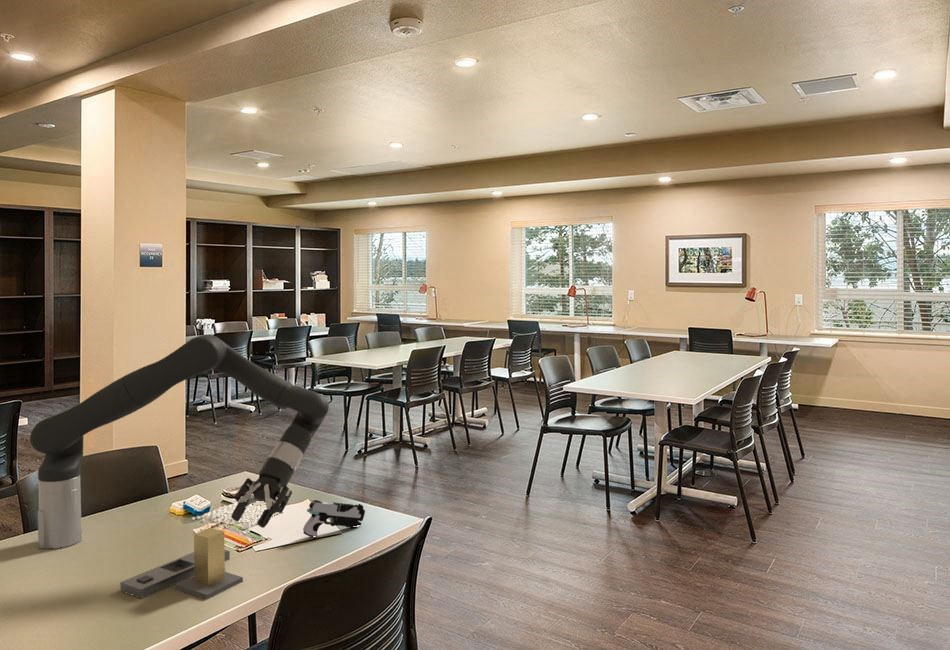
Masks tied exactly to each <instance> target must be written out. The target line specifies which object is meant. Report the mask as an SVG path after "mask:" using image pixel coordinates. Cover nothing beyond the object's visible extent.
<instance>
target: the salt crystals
mask: <svg viewBox="0 0 950 650" xmlns="http://www.w3.org/2000/svg"><path fill="white" fill-rule="evenodd" d="M237 505H238V502H237V501H235V502H234V503H230V504H229V505H223V506H220V507H218V508H216V509H214V510H212V511H207V513H204V514H202V515H199V516H197V520H200V519H201V521H202V522H203V523H204V522H205V521H206V519H207V520H208V519H210V520H212V521H213V522H214V523H216V522H217V523H218V522H219V521H220V522H221V521H222V523H223V522H225V521H226V522H229V523H232V524H235V525H236V522H237V524H238V523H239V524H240V523H242V524H241V526H240V527H243V528H242V529H241V530H243V529H245V530H246V529H250V528H251V527H254V526H257V525H258V524H257V522H258V520H259V519H260V517H261V515H262V513H263V512H264V510H267V508H266V504H261V506H260V505H258V506H254V505H252V503H251V504H250V505H249V506H247V507H245V508H246V510H245V511H244V513H243V515H242V516H241V518H240V520H239V521H235V520H234V519H233V518H232V513H233V511H234V510H235V508H236V506H237ZM276 514H279V512H277V513H275V514H273V515H272V517H273V516H274V515H276ZM255 515H256V516H255ZM257 516H258V517H257ZM191 520H192V521H194V520H196V516H192V519H191ZM251 520H252V521H251ZM220 522H219V523H220ZM226 522H225V523H226ZM251 522H253V523H251ZM226 524H228V523H226ZM232 524H231V525H232ZM256 524H257V525H256ZM228 525H229V524H228ZM224 526H226V525H225V524H224Z"/></svg>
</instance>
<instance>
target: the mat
mask: <svg viewBox="0 0 950 650" xmlns="http://www.w3.org/2000/svg"><path fill="white" fill-rule="evenodd" d="M243 582H244V577H242V576H240V575H237V574H233V573H230V572H227V571H225V579H224V580H221V581H219V582H217V583H215V584H213V585H211V586H209V587H208V586H205V585H202V584H199V583H196V582H195V578H194V575H193V576H191V577H188V578H186V579H184V580H182V581H179V582H177V583H175V584H174V585H175V586H174V587H175V588H174V589H176V590H178V591H181V592H184V593H188V594H190V595H193V596H197V597H200V598H201V599H205V600H208V599H210V598H213V597H214V596H217V595H218V594H220V593H222V592H224V591H227V590H228V589H231V588H232V587H234V586H237V585H239V584H241V583H243Z"/></svg>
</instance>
